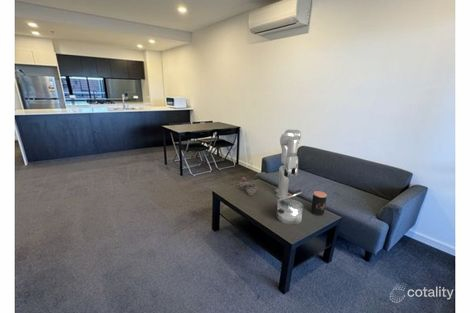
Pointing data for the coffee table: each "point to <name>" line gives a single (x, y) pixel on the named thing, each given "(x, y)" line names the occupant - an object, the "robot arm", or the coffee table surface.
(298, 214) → the cooker pot
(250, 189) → the pottery
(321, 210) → the coffee jar
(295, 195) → the cooker lid
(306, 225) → the coffee table surface
